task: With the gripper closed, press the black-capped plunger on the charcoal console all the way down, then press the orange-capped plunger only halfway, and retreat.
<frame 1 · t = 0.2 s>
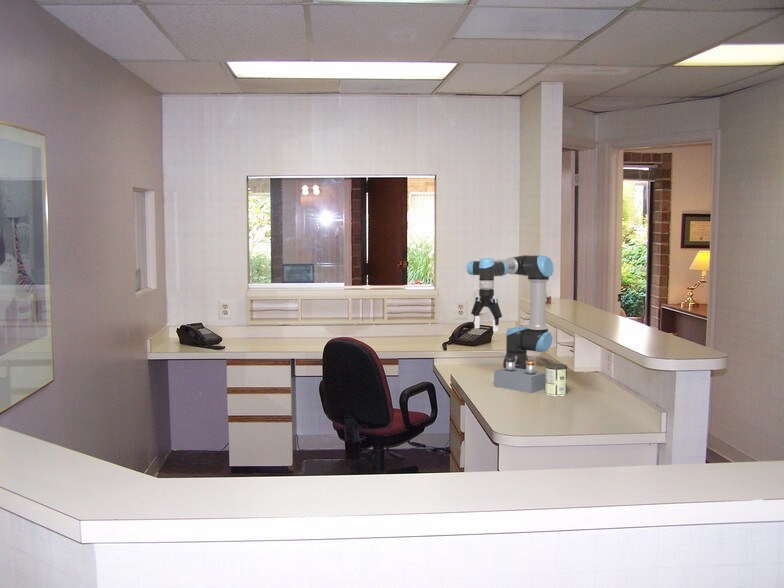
hand: (486, 329, 367), 28 cm above the table, fingers open, 13 cm apart
coffee can: (555, 394, 344), on the table
plunger orange: (530, 369, 354), point 10 cm above the table, slide at 0.0 cm
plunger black: (510, 366, 362), point 10 cm above the table, slide at 0.0 cm
console: (520, 387, 359), on the table
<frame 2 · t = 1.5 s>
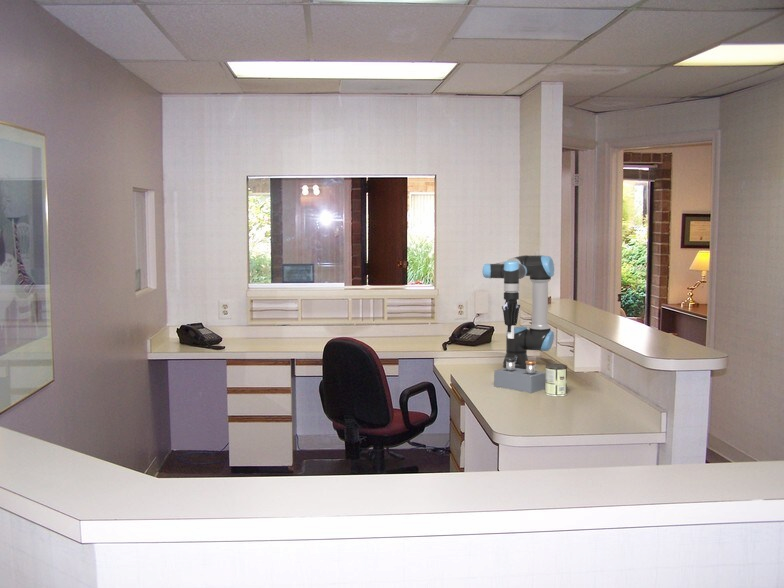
hand: (510, 338, 361), 24 cm above the table, fingers closed
nothing on the table moved.
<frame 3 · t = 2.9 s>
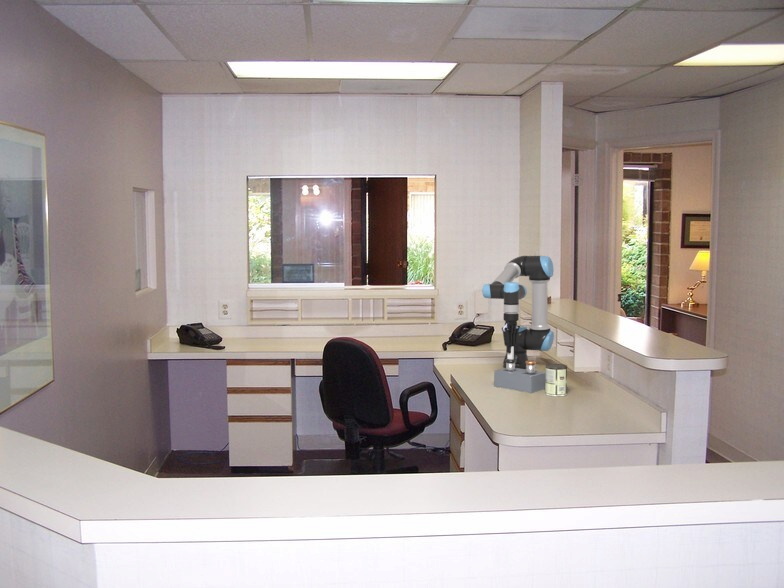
hand: (510, 359, 362), 14 cm above the table, fingers closed
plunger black: (510, 367, 362), point 9 cm above the table, slide at 0.6 cm, touching gripper
everything else where it was.
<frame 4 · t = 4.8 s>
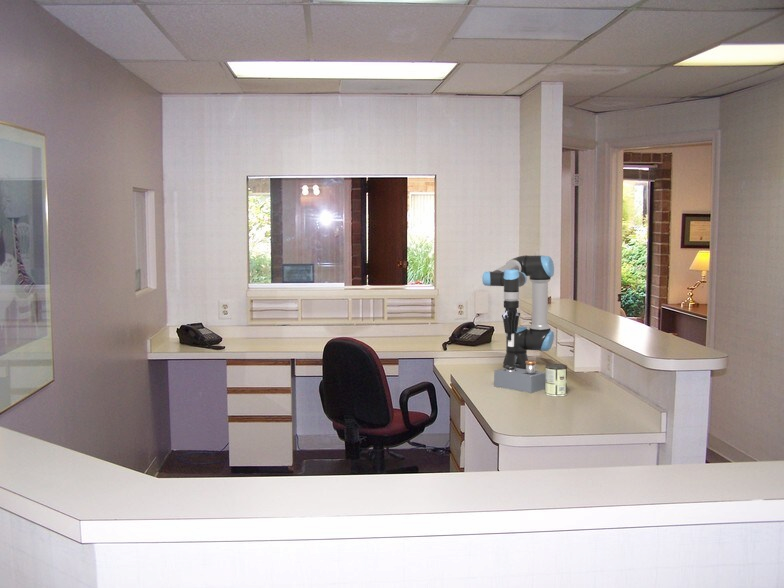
hand: (510, 346, 362), 20 cm above the table, fingers closed
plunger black: (510, 374, 363), point 6 cm above the table, slide at 4.0 cm
everything else where it was.
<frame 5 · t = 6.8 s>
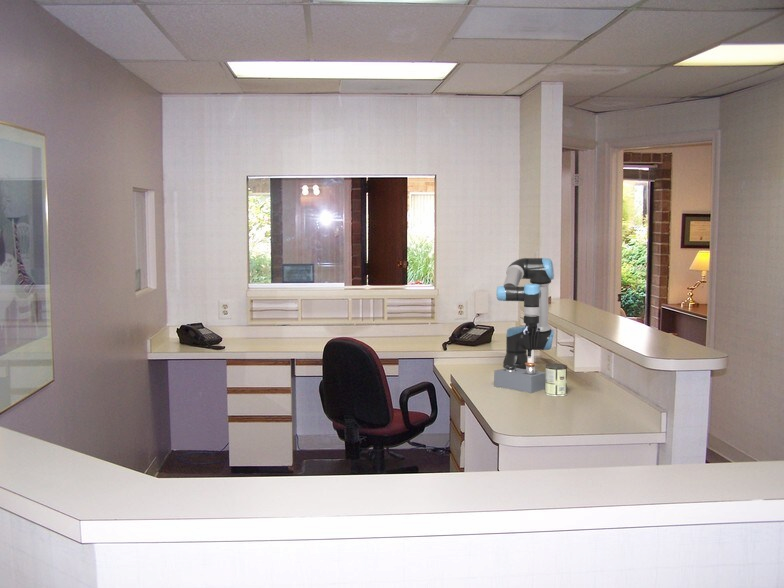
hand: (530, 362, 353), 13 cm above the table, fingers closed
plunger orange: (530, 371, 354), point 9 cm above the table, slide at 0.9 cm, touching gripper
everything else where it was.
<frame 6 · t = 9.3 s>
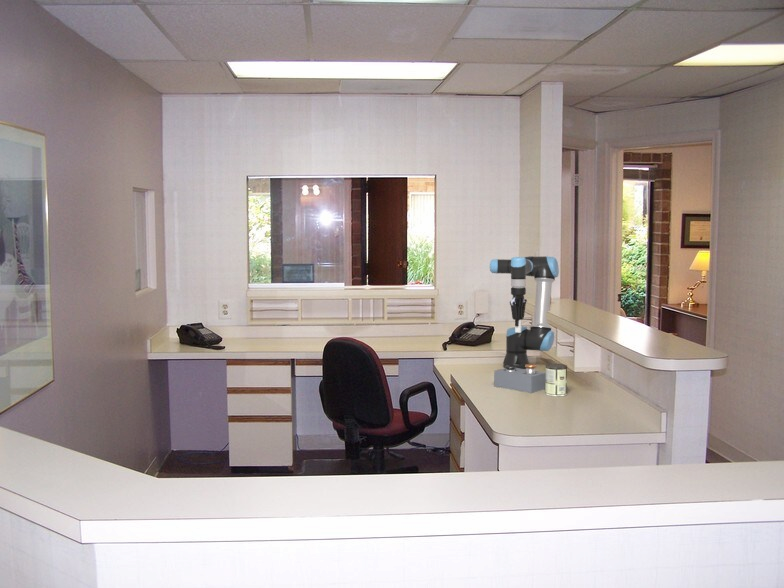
hand: (518, 332, 371), 26 cm above the table, fingers closed
plunger orange: (530, 373, 354), point 8 cm above the table, slide at 1.8 cm
everything else where it was.
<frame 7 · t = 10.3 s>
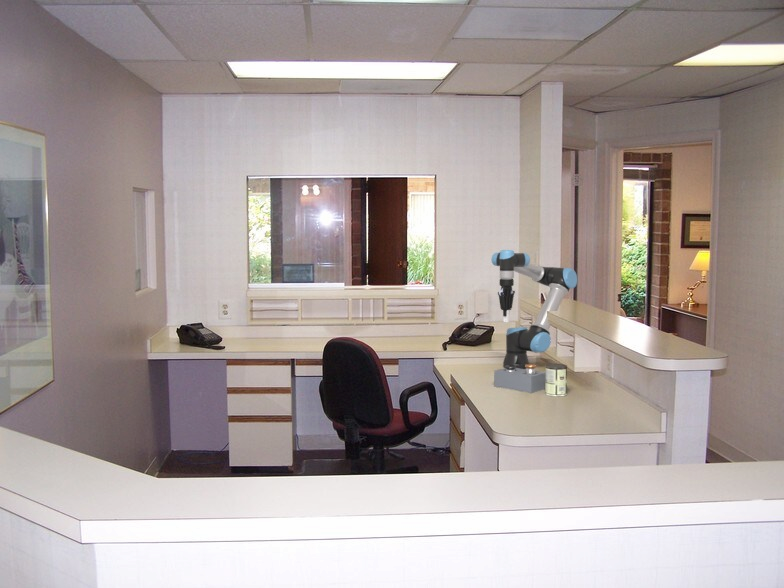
hand: (506, 321, 387), 29 cm above the table, fingers closed
nothing on the table moved.
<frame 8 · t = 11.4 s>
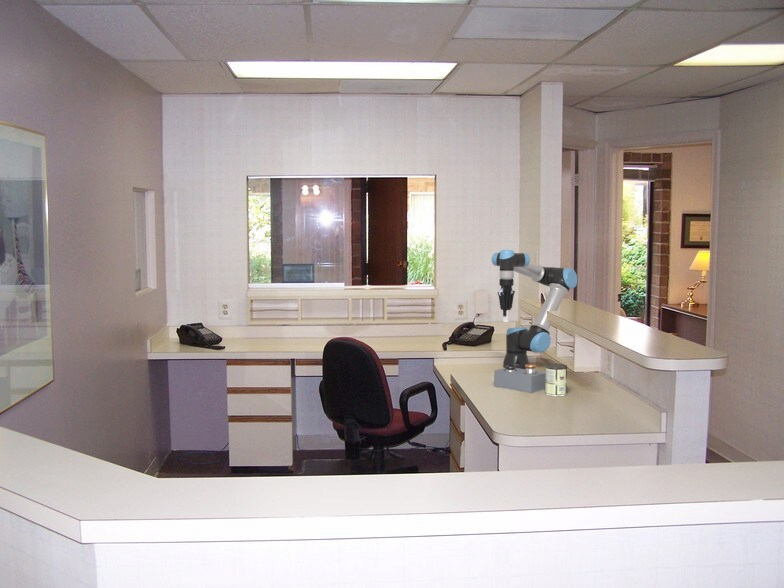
hand: (506, 321, 387), 29 cm above the table, fingers closed
nothing on the table moved.
at the end: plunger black slide at 4.0 cm; plunger orange slide at 1.8 cm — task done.
